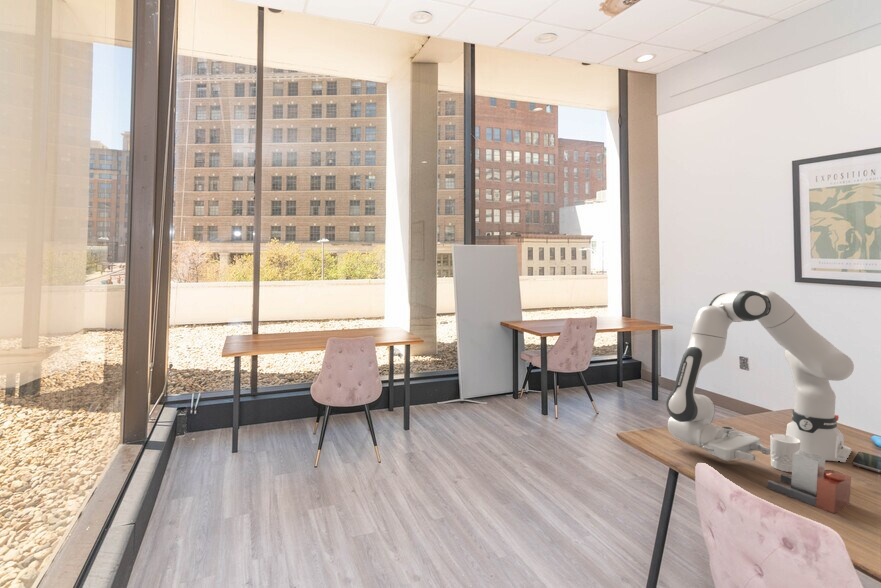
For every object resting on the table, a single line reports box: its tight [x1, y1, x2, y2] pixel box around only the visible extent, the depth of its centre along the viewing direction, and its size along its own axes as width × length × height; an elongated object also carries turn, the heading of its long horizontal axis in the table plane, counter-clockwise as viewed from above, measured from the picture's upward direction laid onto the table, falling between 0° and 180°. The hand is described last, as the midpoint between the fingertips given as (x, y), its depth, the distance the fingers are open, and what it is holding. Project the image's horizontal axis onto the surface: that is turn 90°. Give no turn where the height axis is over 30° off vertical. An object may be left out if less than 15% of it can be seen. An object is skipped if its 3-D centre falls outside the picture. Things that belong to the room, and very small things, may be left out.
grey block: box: [790, 450, 826, 497], centre depth 128 cm, size 5×6×12 cm
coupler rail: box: [766, 469, 852, 514], centre depth 127 cm, size 10×16×9 cm, turn 29°
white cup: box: [769, 433, 801, 473], centre depth 145 cm, size 8×8×10 cm
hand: (761, 455), depth 138 cm, fingers open, 8 cm apart
